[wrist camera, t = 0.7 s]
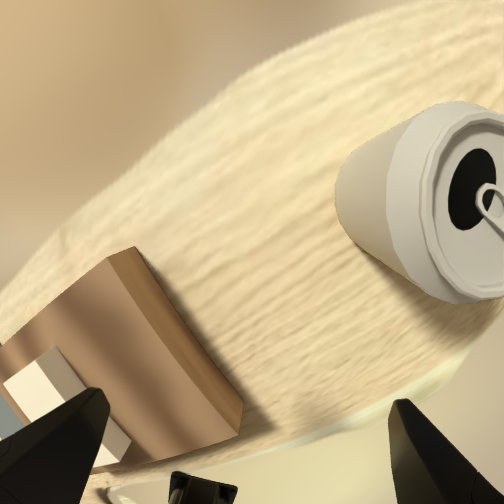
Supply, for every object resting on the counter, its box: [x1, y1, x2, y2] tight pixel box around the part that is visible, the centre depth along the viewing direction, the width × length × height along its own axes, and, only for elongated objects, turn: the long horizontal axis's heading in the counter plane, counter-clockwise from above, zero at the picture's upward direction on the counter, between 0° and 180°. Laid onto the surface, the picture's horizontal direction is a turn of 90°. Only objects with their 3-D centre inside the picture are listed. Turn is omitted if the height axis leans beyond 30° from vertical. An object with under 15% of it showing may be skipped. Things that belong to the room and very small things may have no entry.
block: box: [0, 246, 244, 475], centre depth 22 cm, size 20×14×4 cm
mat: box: [0, 344, 25, 440], centre depth 26 cm, size 16×16×1 cm
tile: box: [3, 346, 131, 467], centre depth 18 cm, size 6×9×2 cm, turn 32°
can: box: [335, 101, 504, 304], centre depth 13 cm, size 8×8×12 cm
